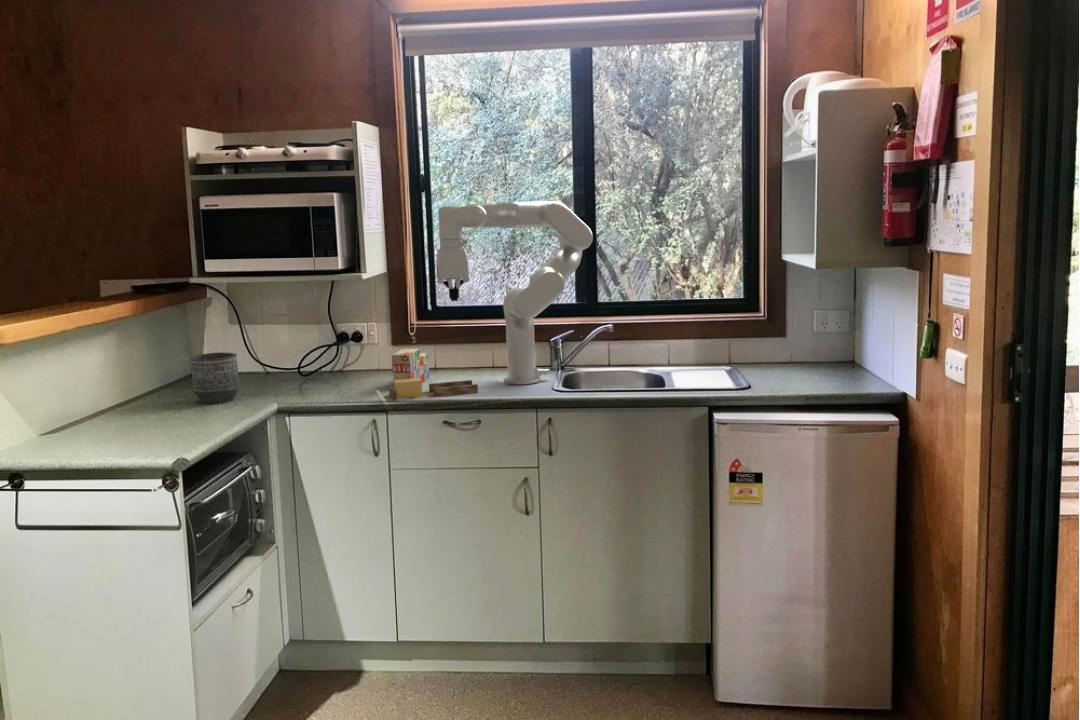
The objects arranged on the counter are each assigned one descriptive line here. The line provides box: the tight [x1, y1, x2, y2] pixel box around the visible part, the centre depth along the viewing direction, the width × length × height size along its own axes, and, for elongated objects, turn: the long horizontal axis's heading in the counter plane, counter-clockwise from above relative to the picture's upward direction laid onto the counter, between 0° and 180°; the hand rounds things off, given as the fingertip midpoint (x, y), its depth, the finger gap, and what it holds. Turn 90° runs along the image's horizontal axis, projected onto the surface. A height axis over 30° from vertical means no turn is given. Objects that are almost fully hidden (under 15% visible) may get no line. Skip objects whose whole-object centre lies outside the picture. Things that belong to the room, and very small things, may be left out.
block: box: [393, 378, 423, 399], centre depth 300 cm, size 8×5×5 cm, turn 107°
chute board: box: [388, 379, 479, 401], centre depth 302 cm, size 27×10×3 cm, turn 107°
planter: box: [190, 351, 240, 405], centre depth 306 cm, size 14×14×15 cm
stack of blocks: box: [391, 348, 430, 385], centre depth 324 cm, size 21×6×12 cm, turn 170°
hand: (454, 300), depth 311 cm, fingers closed
